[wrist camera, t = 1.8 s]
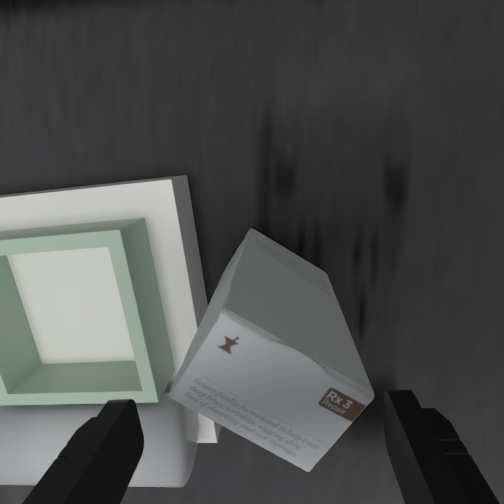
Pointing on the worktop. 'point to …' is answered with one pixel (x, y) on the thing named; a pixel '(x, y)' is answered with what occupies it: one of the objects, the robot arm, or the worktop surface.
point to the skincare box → (275, 356)
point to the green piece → (135, 310)
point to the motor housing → (105, 322)
